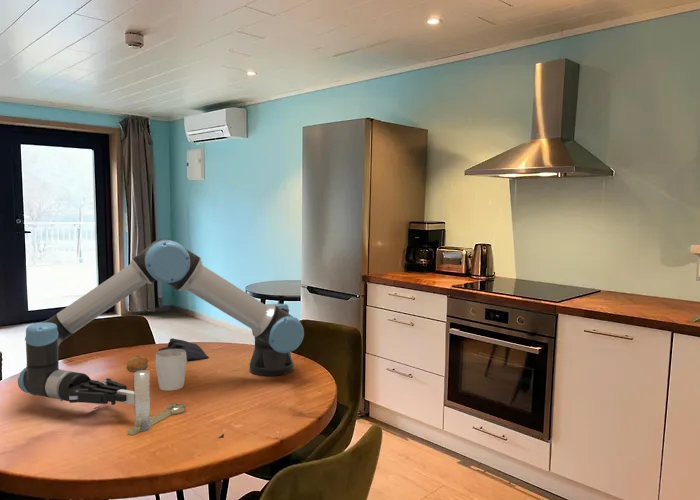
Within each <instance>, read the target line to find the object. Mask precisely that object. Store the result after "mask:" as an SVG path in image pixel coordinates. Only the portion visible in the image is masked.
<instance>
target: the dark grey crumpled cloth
mask: <svg viewBox="0 0 700 500" xmlns="http://www.w3.org/2000/svg"><path fill="white" fill-rule="evenodd" d="M167 349H182V350H185V351H186V357H187V361H197V360H200V361H201V360H206V359H209V358H210V356H208V355H207V354H206V352H205V351H204V350H203V348H201V346H199V344H196V343H192V342H189V341H186V340H182V339H178V338H173V337H172V338H170V339H169V341H168V344H167V346H166V347H162V348H159V349H158V352H159V351H162V350H167Z"/></svg>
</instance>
